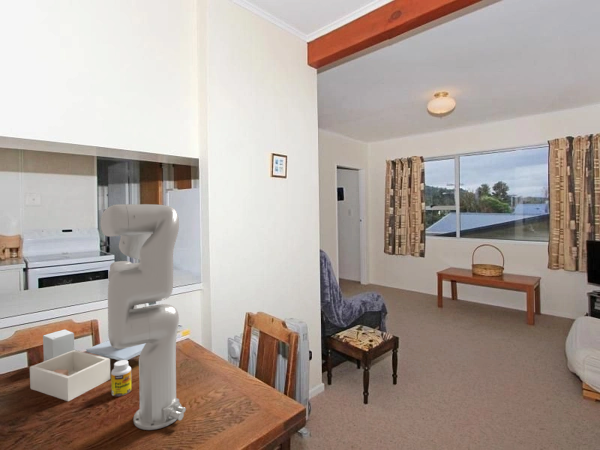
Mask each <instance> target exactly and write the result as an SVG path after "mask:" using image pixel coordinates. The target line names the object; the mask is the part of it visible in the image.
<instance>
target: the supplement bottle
mask: <svg viewBox="0 0 600 450" xmlns="http://www.w3.org/2000/svg"><path fill="white" fill-rule="evenodd" d="M110 381H111V396H113V397H122V396H127V395H128V394H129V393H131V392H132V367H131V366H130V365H129V361H128V360H121V361H120V360H116V361H115V362H114V363H113V369H112V370H111V371H110Z"/></svg>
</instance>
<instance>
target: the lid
mask: <svg viewBox="0 0 600 450" xmlns="http://www.w3.org/2000/svg"><path fill="white" fill-rule="evenodd" d="M145 344H146V343H145ZM145 344H141V345H137V346H132V347H128V348H123V349H116V348H114V347H112V345H111V344H110V341H109V339H108V340H105V341H104V342H101V343H98V344H96V345H94V346H90V347H88V348H87V349H85V351H86V352H85V353H89V354H93V355H97V356H101V357H105V358H109V359H113V360H116V361H121V360H127V361H128V360H131V359H133V358H134V357H136V356H140V354H141V351H142V349H143V347H144V346H145Z"/></svg>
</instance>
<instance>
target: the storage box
mask: <svg viewBox="0 0 600 450" xmlns="http://www.w3.org/2000/svg"><path fill="white" fill-rule="evenodd" d="M56 369H62V370H68V376H67V375H63V374H60V373H57V372H53V371H55V370H56ZM78 371H79V372H78ZM76 372H77V373H76ZM109 380H110V381H111V358H108V357H104V356H100V355H96V354H92V353H88V352H85V351H81V350H80V351H79V350H75V349H74V350H72V351H70V352H67V353H65V354H62V355H59V356H57V357H54V358H52V359H49V360H47V361H44V360H43V361H42V362H40V363H37V364H34V365H31V366H29V382H30V385H29V386H30V389H31V390H33V391H37V392H39V393H42V394H45V395H48V396H51V397H54V398H57V399H60V400H64V401H65V402H70V401H72V400H73V399H75V398H77V397H80V396H81V395H84V394H86V393H87V392H89V391H91V390H93V389H94V388H96V387H99V386H100V385H102V384H104V383H106V382H107V381H109Z"/></svg>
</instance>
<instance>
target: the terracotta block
mask: <svg viewBox="0 0 600 450" xmlns="http://www.w3.org/2000/svg"><path fill="white" fill-rule="evenodd" d="M53 372H57V373H60V374H63V375H67V376H68V370H62V369H56V370H55V371H53Z"/></svg>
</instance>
